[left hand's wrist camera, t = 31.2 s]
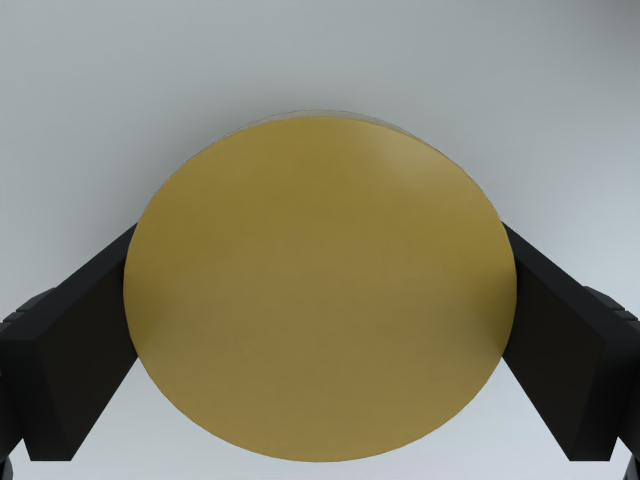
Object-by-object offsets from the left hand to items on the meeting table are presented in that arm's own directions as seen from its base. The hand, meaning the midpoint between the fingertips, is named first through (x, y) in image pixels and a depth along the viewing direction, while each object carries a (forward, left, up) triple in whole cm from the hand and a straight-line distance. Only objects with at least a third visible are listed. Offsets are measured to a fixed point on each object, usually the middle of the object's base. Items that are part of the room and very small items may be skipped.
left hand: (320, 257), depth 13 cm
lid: (0, 0, +3) cm, 3 cm away
